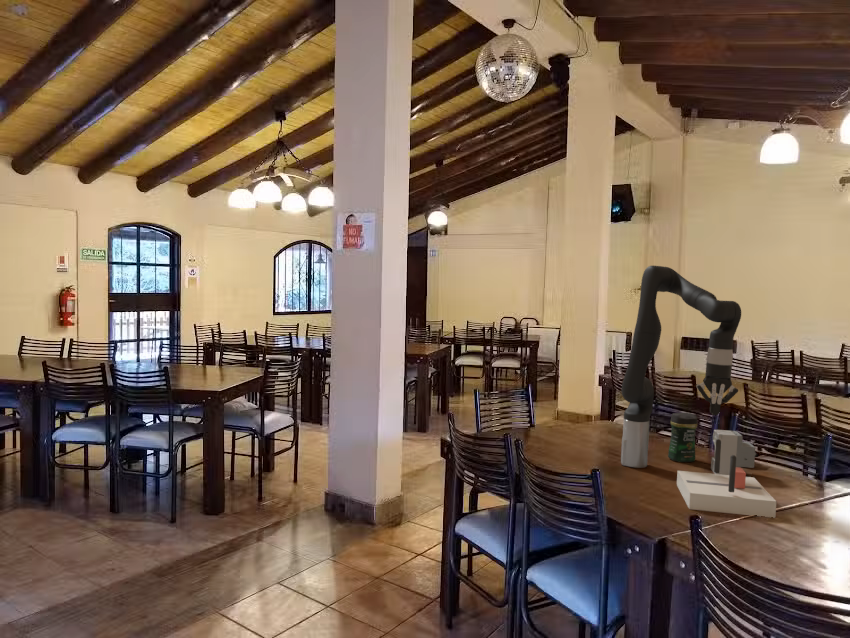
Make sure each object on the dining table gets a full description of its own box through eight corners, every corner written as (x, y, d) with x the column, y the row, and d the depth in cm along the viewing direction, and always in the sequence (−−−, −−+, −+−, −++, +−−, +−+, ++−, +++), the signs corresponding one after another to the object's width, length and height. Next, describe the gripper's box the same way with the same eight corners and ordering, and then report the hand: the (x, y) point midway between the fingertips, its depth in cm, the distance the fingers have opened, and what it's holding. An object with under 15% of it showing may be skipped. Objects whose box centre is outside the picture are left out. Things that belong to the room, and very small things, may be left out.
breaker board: (689, 509, 194) (690, 492, 194) (676, 484, 218) (677, 470, 217) (775, 517, 189) (776, 501, 189) (753, 492, 212) (753, 477, 212)
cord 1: (714, 472, 212) (716, 439, 211) (713, 471, 214) (715, 438, 213) (719, 473, 212) (721, 440, 211) (718, 471, 213) (720, 439, 213)
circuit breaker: (758, 478, 228) (761, 437, 227) (715, 474, 231) (718, 434, 230) (752, 472, 235) (754, 432, 234) (710, 469, 238) (713, 429, 237)
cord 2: (729, 492, 193) (731, 455, 192) (727, 490, 194) (730, 454, 194) (734, 492, 192) (737, 456, 192) (733, 490, 194) (735, 454, 193)
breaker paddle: (734, 487, 200) (735, 472, 199) (729, 481, 205) (730, 466, 205) (744, 488, 199) (745, 472, 199) (739, 482, 205) (740, 467, 204)
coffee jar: (676, 463, 244) (679, 415, 243) (664, 457, 252) (667, 411, 251) (699, 462, 246) (701, 415, 245) (686, 456, 254) (689, 410, 253)
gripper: (699, 362, 204) (694, 415, 205) (744, 365, 201) (739, 419, 202) (695, 358, 211) (690, 410, 212) (738, 362, 208) (733, 414, 209)
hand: (714, 414), depth 207 cm, fingers closed
